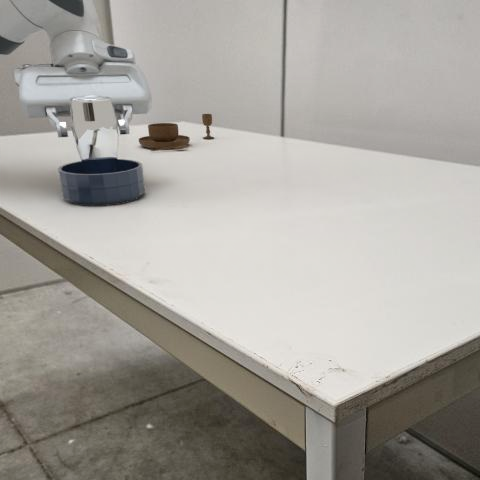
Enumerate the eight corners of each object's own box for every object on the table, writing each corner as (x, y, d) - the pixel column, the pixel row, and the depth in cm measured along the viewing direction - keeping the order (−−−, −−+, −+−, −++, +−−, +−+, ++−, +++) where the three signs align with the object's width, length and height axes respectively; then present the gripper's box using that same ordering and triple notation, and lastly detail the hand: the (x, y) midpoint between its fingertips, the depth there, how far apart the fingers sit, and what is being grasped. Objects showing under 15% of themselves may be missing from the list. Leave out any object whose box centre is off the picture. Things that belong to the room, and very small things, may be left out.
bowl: (56, 208, 96) (50, 176, 94) (70, 189, 107) (65, 160, 105) (142, 204, 98) (139, 173, 96) (147, 186, 110) (144, 157, 108)
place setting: (133, 141, 153) (130, 116, 151) (211, 137, 161) (210, 113, 159) (146, 153, 139) (143, 126, 137) (231, 147, 147) (230, 121, 144)
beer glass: (74, 197, 100) (57, 99, 93) (95, 187, 106) (81, 95, 100) (114, 198, 99) (100, 100, 93) (133, 189, 105) (121, 95, 99)
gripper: (8, 50, 96) (20, 123, 92) (142, 50, 104) (158, 118, 100) (15, 79, 102) (26, 149, 98) (142, 77, 109) (157, 142, 105)
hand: (94, 133), depth 99 cm, fingers open, 8 cm apart
